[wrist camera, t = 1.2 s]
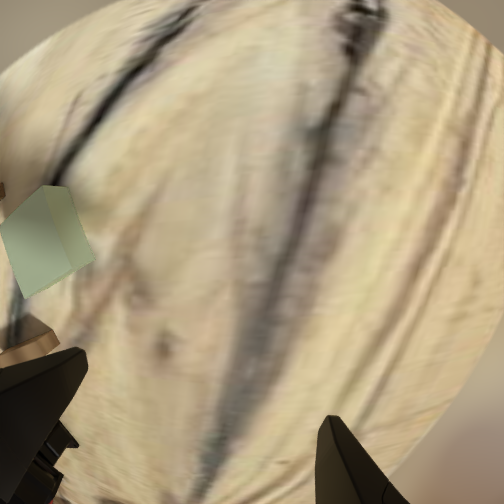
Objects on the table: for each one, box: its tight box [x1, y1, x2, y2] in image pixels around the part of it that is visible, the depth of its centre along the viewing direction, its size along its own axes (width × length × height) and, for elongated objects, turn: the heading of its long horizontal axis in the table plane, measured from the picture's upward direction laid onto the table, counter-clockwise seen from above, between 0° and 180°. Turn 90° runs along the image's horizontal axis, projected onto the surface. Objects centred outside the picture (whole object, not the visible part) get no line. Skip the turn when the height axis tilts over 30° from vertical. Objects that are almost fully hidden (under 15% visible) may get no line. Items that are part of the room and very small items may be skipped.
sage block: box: [0, 185, 96, 299], centre depth 19 cm, size 7×7×4 cm
